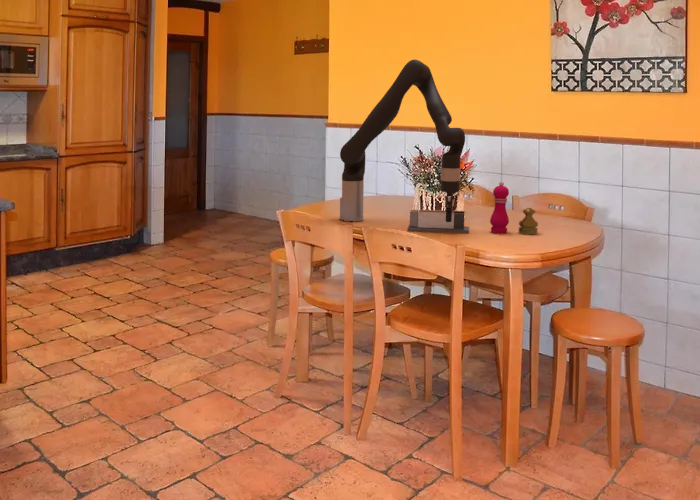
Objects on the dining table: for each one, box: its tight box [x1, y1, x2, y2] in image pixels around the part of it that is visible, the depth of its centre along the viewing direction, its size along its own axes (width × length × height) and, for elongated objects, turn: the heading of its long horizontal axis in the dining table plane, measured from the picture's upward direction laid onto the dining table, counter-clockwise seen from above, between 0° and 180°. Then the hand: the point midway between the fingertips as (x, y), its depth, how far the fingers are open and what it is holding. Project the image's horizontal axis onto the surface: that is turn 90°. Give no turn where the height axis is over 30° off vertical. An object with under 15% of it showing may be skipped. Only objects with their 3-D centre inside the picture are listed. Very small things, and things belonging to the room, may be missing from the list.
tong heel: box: [409, 209, 420, 227], centre depth 279 cm, size 3×5×6 cm, turn 170°
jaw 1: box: [418, 209, 466, 216], centre depth 280 cm, size 18×1×6 cm, turn 80°
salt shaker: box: [518, 207, 539, 236], centre depth 273 cm, size 7×7×10 cm
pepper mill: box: [489, 181, 510, 235], centre depth 274 cm, size 7×7×20 cm
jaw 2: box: [418, 212, 466, 229], centre depth 275 cm, size 18×1×6 cm, turn 80°
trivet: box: [407, 223, 470, 235], centre depth 279 cm, size 24×9×1 cm, turn 80°
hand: (448, 220), depth 277 cm, fingers open, 8 cm apart
